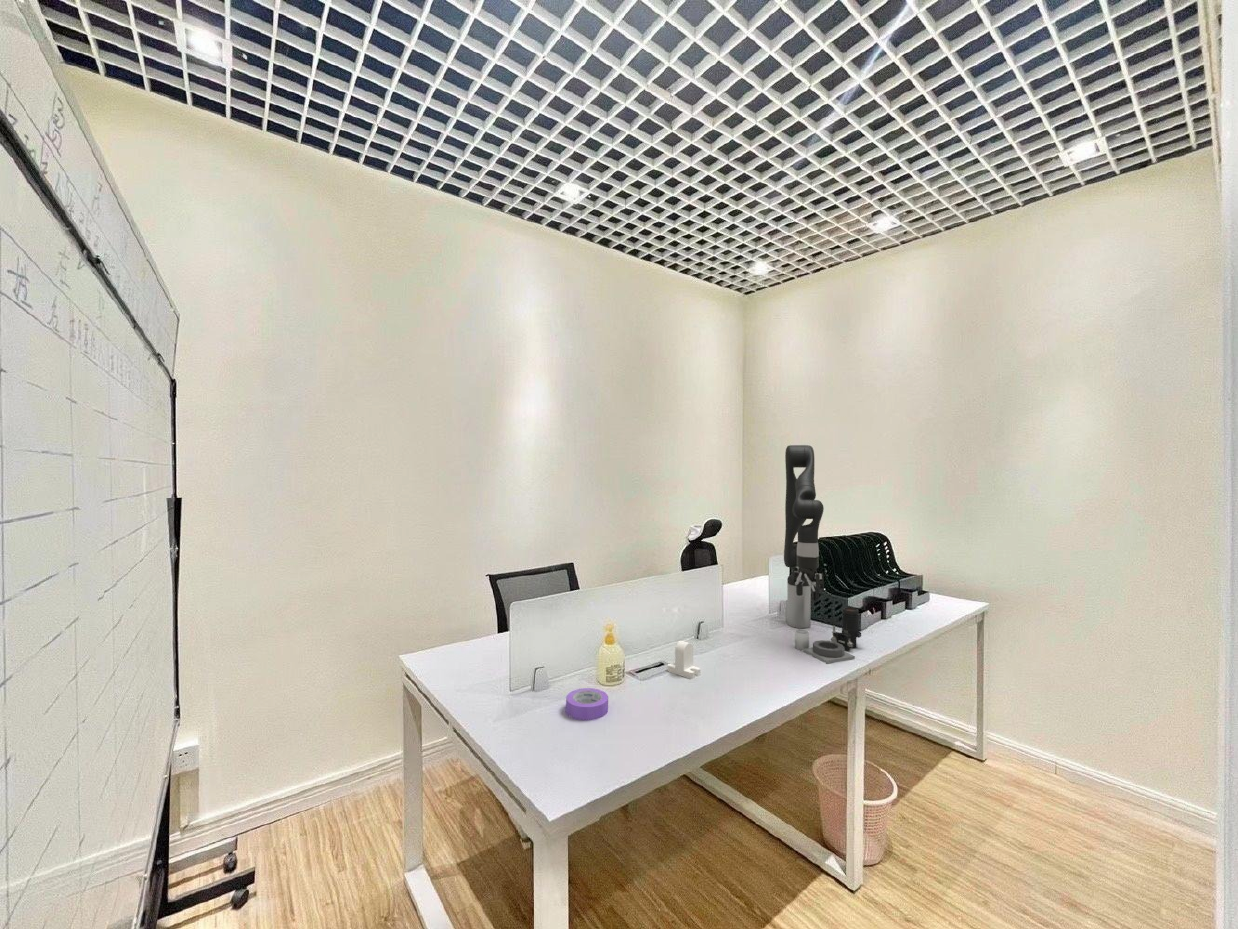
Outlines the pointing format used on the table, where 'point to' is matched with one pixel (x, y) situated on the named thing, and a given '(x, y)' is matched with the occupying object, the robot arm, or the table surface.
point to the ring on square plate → (828, 651)
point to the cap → (801, 639)
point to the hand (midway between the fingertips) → (807, 598)
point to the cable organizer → (684, 661)
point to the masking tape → (587, 711)
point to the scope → (848, 629)
